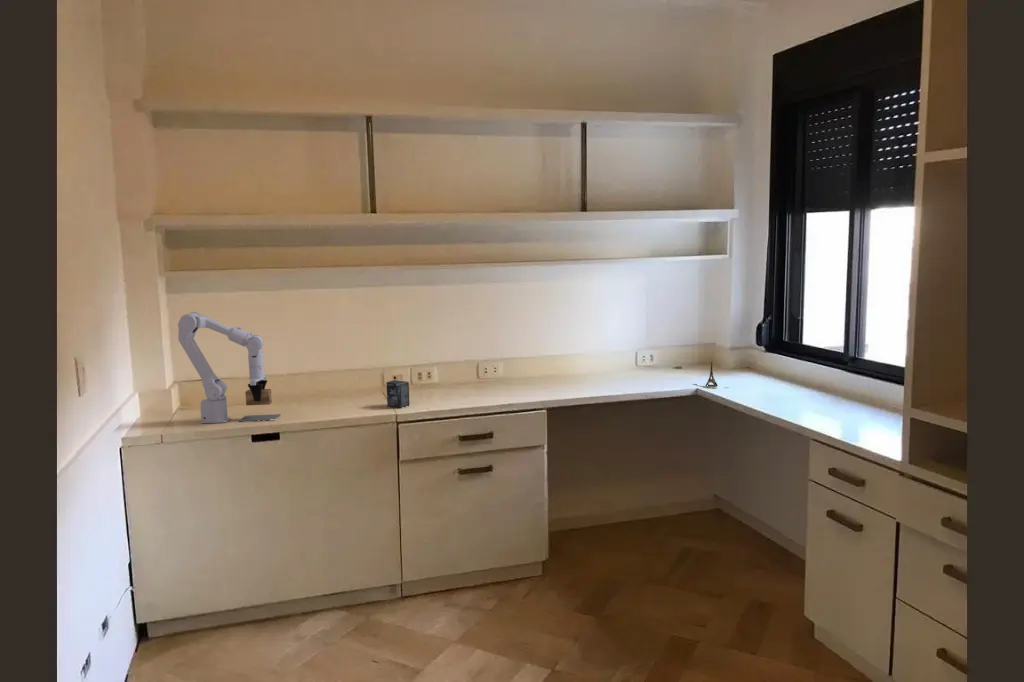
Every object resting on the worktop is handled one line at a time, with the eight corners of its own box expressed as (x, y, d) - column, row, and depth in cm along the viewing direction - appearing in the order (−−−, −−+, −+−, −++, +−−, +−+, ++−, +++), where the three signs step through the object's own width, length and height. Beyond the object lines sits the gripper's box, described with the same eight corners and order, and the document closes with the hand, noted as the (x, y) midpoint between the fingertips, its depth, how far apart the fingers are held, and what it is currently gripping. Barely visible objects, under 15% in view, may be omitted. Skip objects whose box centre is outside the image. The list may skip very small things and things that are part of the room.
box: (387, 406, 321) (385, 382, 319) (396, 404, 325) (395, 379, 324) (401, 408, 316) (399, 383, 315) (410, 406, 321) (409, 381, 320)
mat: (239, 422, 299) (239, 420, 299) (245, 416, 308) (245, 415, 308) (275, 420, 300) (275, 419, 300) (280, 415, 309) (280, 414, 309)
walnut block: (269, 404, 302) (268, 390, 301) (246, 405, 301) (245, 391, 300) (271, 402, 305) (271, 388, 305) (249, 403, 305) (248, 389, 304)
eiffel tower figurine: (691, 385, 354) (691, 356, 352) (709, 383, 357) (709, 355, 356) (710, 390, 340) (711, 361, 338) (729, 388, 344) (730, 359, 342)
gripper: (262, 368, 294) (264, 403, 296) (271, 362, 309) (273, 395, 310) (243, 369, 294) (246, 404, 296) (253, 363, 308) (255, 396, 310)
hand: (258, 399), depth 303 cm, fingers closed on walnut block, 4 cm apart
